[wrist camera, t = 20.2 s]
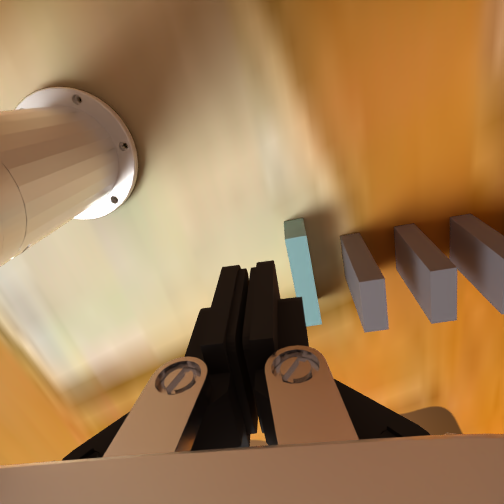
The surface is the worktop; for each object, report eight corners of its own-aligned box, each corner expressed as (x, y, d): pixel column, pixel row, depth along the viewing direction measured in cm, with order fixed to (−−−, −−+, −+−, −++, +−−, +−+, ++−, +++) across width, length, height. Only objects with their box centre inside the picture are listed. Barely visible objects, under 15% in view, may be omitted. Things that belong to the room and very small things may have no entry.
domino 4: (449, 260, 39) (501, 314, 30) (449, 217, 37) (505, 260, 28) (469, 257, 39) (527, 310, 30) (470, 213, 37) (533, 255, 28)
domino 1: (283, 221, 39) (299, 301, 43) (284, 239, 34) (302, 327, 38) (302, 217, 38) (317, 298, 42) (306, 235, 34) (321, 324, 38)
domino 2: (345, 277, 41) (364, 332, 32) (340, 235, 39) (359, 282, 30) (363, 274, 40) (388, 329, 31) (359, 232, 39) (384, 278, 29)
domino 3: (396, 269, 40) (431, 323, 31) (393, 226, 38) (430, 271, 29) (415, 266, 40) (456, 320, 31) (413, 223, 38) (457, 267, 29)
